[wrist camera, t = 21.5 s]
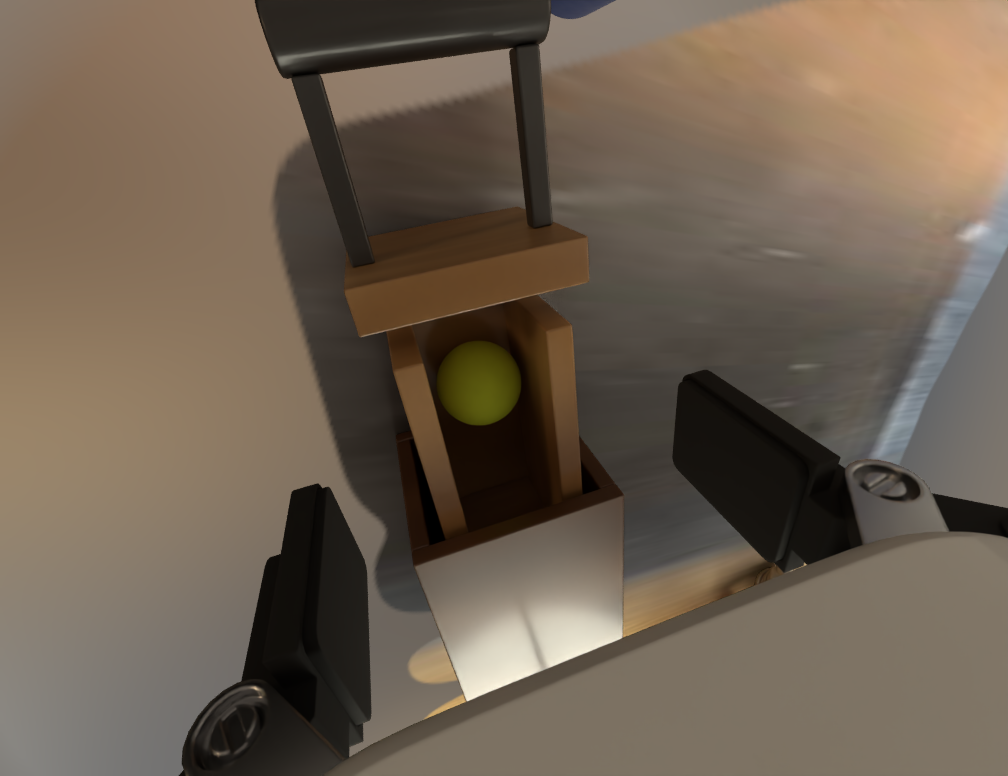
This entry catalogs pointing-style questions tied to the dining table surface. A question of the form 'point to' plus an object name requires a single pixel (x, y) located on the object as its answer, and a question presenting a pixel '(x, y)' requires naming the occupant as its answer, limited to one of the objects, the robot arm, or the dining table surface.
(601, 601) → the cabinet
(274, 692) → the robot arm
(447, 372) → the ball
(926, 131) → the dining table surface
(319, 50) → the drawer
